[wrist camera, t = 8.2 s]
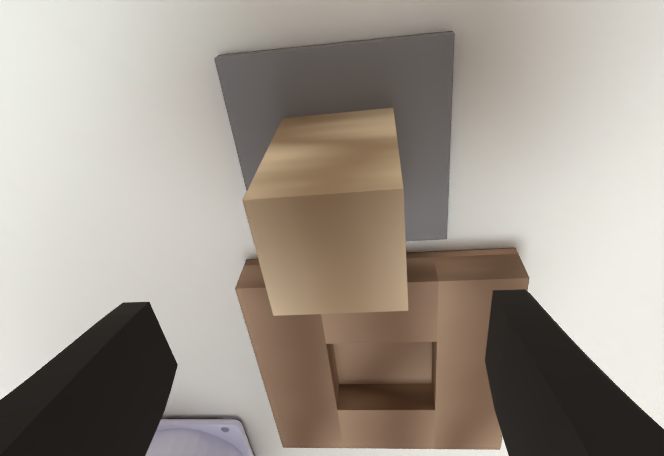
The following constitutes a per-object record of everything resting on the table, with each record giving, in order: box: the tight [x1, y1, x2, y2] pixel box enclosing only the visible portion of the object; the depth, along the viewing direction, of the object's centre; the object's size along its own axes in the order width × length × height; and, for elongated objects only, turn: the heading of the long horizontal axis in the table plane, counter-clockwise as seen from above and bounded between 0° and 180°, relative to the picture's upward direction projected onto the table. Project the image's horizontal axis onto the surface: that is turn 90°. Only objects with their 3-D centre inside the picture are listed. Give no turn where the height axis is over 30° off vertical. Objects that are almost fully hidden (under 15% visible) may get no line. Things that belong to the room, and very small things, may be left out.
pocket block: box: [235, 248, 529, 450], centre depth 22 cm, size 12×12×2 cm
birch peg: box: [243, 108, 408, 316], centre depth 14 cm, size 4×4×6 cm
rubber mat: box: [215, 31, 454, 241], centre depth 17 cm, size 8×8×1 cm
